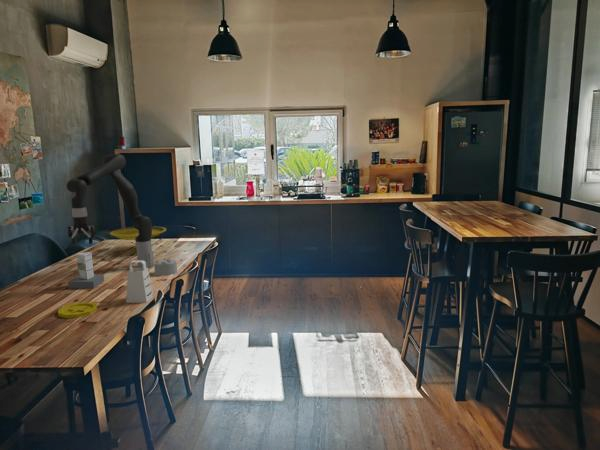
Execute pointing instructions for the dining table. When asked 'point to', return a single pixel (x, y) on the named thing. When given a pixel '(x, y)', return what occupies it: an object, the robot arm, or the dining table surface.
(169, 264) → the lumpy-topped squat cylinder
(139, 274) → the grater
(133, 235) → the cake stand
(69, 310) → the decorative disc
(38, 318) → the dining table surface
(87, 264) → the syrup box
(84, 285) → the charcoal plinth
